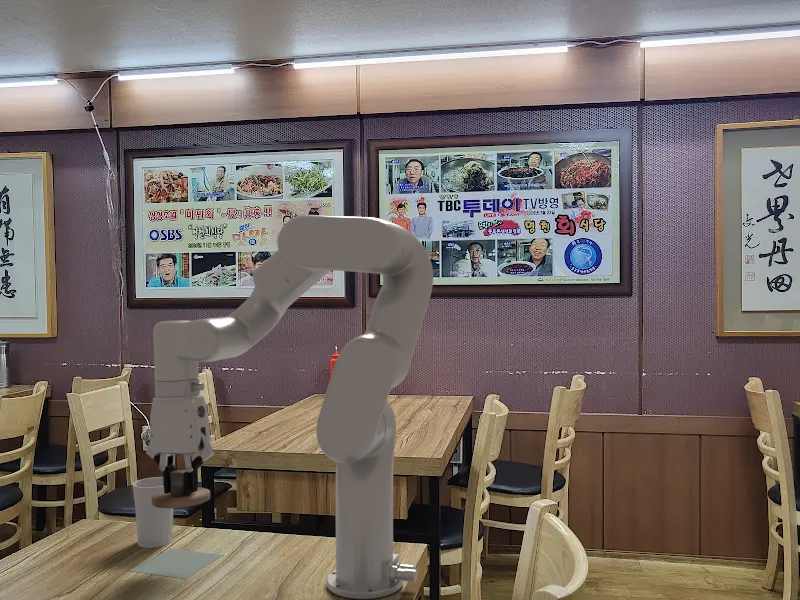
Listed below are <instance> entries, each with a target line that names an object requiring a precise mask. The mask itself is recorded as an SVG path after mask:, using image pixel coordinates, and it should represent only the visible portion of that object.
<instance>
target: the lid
mask: <svg viewBox="0 0 800 600" xmlns="http://www.w3.org/2000/svg"><path fill="white" fill-rule="evenodd" d="M184 472H187V471H186V469H177V471H173V472H171V473H170V485H171V493H168V494H165V493H164V491H163V492H159V493H157V494H155V495H153V496H152V498H151V499H152V505H153V506H155V507H158V508H174V509H180V508H187V507H194V506H198V505H200V504H204V503H206V502H207V501H209V500H210V499H211V490H210V489H208V488H206V487H199V486H198V490H197V491H196V492H194V493H192V494H189V495H185V494H184V478H183V474H184Z"/></svg>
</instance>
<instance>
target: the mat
mask: <svg viewBox="0 0 800 600" xmlns="http://www.w3.org/2000/svg"><path fill="white" fill-rule="evenodd" d="M222 557H224V554H217V553H209V552H203V551H193V550H185V549H177V548H169V549H167V550H165V551H163V552H162V553H160V554H158V555H156V556H154V557H152V558H151V559H149V560H147V561H145V562H143V563H142V564H139V565H138V566H136V567H134V568H132V569H130V570H129V572H132V573H141V574H146V575H154V576H162V577H169V578H176V579H182V580H187V579H189V578H191V577H192V576H193V575H195V574H197V573H198V572H200V571H202V570H203V569H204V568H206V567H208V566H210V565H211V564H212V563H214V562H215V561H217V560H219V559H221V558H222Z"/></svg>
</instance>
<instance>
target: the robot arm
mask: <svg viewBox="0 0 800 600" xmlns="http://www.w3.org/2000/svg"><path fill="white" fill-rule="evenodd" d="M433 269H434V268H433V265H432V261H431V257H430V255H429V253H428V251H427V250H426V248H425V246H424V245H423V243H421V242H420V240H419V239H418V238H417V237H416V236H415V235H414V234H413V233H411V232H410V231H409V230H408V229H406V228H405V227H402V226H400V225H398V224H395V223H393V222H389V221H387V220H384V219H381V218H377V217H370V216H369V217H368V216H367V217H366V216H365V217H364V216H363V217H362V216H340V215H339V216H334V215H333V216H332V215H331V216H329V215H317V214H316V215H314V214H302V215H301V214H300V215H297V216H295V217H292V218H291V219H289V220H288V221H287V222H286V223H285V224H284V225H283V226H282V227H281V230H280V231H279V232H278V237H277V250H276V251H274V253H273V254H272V255H271V256H269V257H268V258H267V259H265V261H263V262H262V263H261V264H259V266H258V267H257V268H255V270H254V271H253V273H252V281H253V284H254V288H253V289H252V290H253V291H252V292H251V294H250V295H249V296H248V298H247V299H246V300H245V301H244V302H243V303H241V304H240V305H239V306H238V308H236V309H235V310H234V311H233V312H232V313H230V314H229V315H228V316H222V317H221V316H220V317H210V318H199V319H195V320H186V319H185V320H184V319H182V320H181V319H180V320H178V319H177V320H165V321H164V320H163V321H159V322H156V324H155V325H154V327H153V330H152V335H153V360H154V363H153V365H154V392H155V393H154V395H155V397H153V399H152V403H151V409H150V416H149V417H150V419H149V444H148V447H146V451H145V453H146V455H147V456H149V457H150V458H151V459H153V460H154V462H155V463H156V464H157V465H158V468H159V470H160V471H161V472H162V477H163V486H164V493H165V494H168V493H171V485H170V473H171V472H173V471H177V470H178V468H177V467H175V461H176V455H183V458H184V463H185V464H184V465H185V470H186V471H187V472H184V474H183V478H184V494H185V495H189V494H192V493H194V492H196V491H197V490H198V487H199V472H198V471H199V469H200V468H202V465H203V464H204V463H205V461H207V460H208V459H210V458H211V457H213V456H214V454H215V452H214V449H213V448H212V446H211V443H212V441H211V440H212V439H211V426H210V425H211V424H210V418H209V412H208V408H207V407H208V406H207V402H206V399H205V396H204V395H200V393H201V392H202V391H204V389H205V384H204V383H203V382H202V383H201V382H200V372H199V367H200V366H199V363H200V362H202V363H207V362H208V363H210V362H217V361H220V360H221V361H222V360H226V359H233V358H237V357H239V356H241V355H243V354H244V353H246V352H248V351H249V350H250V349H252V347H254V346H255V345H256V344H258V343H259V342H260V341H261V340H262V339H264V337H266V336H267V335H268V334H269V333H270V332H271V331H272V330H273V329H275V327H276V325H278V323H279V321H280V320H281V319H282V317H284V315H285V313H286V312H287V310H288V308H289V307H290V306H291V305H293V304H294V303H295V302H296V301H297V300H298V299H299V298H301V297H302V296H303V295H304V294H305V293H306V292H308V290H311V288H312V287H313V286H314V285H315V284H317V283H318V282H319V281H320V280H321V279H323V278H324V277H325V276H327V274H329V272H331V271H338V272H355V273H356V272H357V273H366V274H377V275H380V276H382V285H381V288H380V290H379V292H378V294H377V296H376V299H375V301H374V303H373V306H372V309H371V313H370V314H371V315H370V318H369V321H368V324H367V326H366V329H365V331H364V333H363V334H361V335H359V336H356V337H354V338H353V339H351V340H350V341H348V342H347V343H346V344H345V345H344V347H343V348H342V349H341V350H340V353H339V354H338V356H337V359H336V360H335V363H334V365H333V368H332V371H331V372H332V373H331V376H330V379H329V382H328V385H327V389H326V392H325V394H324V398H323V401H322V403H321V404H322V405H321V407H320V410H319V414H318V418H317V423H316V433H315V434H316V440H317V443H318V446H319V448H320V450H321V452H322V453H323V454H324V455H325V456H326V457H327V458H328V459H329V460H331V461H332V462H335V463H336V465H335V466H336V468H335V569H334V570H332V571H331V572H330V573H329V574H328V575H327V577H326V587H327V589H328V590H329V591H330V592H331V593H333V594H335V595H336V596H339V597H342V598H347V599H353V600H354V599H355V600H370V599H371V600H372V599H378V598H383V597H386V596H387V597H388V596H389V595H392V594H394V593H396V592H397V591H398V590H400V589H401V588H402V586H403V585H404V583H403V582H408V583H417V580H418V570H417V569H415V568H416V567H415V565H413V564H402V563H401V562H400V561H399V560H400V559H399V557H400V555H399V553H394V494H393V493H394V457H395V456H394V455H395V446H396V445H395V444H396V437H397V421H396V416H395V413H394V410H393V408H392V406H391V404H390V403H389V402H388V399H389V396H390V393H391V391H392V389H394V388H396V387H397V386H399V385H400V384H402V382H403V381H404V380H405V379H406V377H407V375H408V373H409V371H410V367H411V363H412V361H413V360H412V359H413V356H414V354H415V353H414V352H415V350H416V346H417V342H418V340H419V337H420V333H421V330H422V326H423V322H424V319H425V316H426V312H427V309H428V306H429V303H430V299H431V295H432V291H433V286H434V271H433ZM200 451H201V453H199V452H200Z"/></svg>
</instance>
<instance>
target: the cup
mask: <svg viewBox="0 0 800 600" xmlns="http://www.w3.org/2000/svg"><path fill="white" fill-rule="evenodd" d="M132 491H133V501H134V508H135V509H134V510H135V520H136V533H137V546H138V547H141V548H145V549H152V548H159V547H165V546H167V545H169V544H171V543H172V542H173V524H174V522H173V521H174V509H175V508H158V507H155V506H153V505H152V499H151V498H152V496H153V495H155V494H157V493H159V492H163V491H164V486H163V476H158V477H157V476H156V477H148V478H143V479H138V480H135V482H133V483H132Z"/></svg>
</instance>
